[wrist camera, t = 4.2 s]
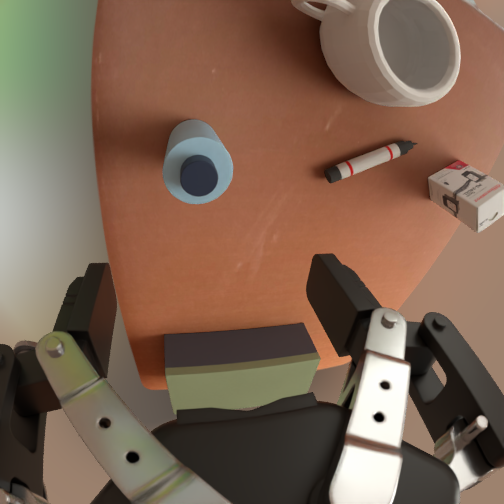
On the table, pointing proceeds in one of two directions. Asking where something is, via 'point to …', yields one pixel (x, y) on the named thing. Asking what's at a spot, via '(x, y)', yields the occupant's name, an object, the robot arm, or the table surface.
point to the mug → (389, 48)
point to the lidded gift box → (238, 366)
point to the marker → (367, 161)
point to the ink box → (468, 195)
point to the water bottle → (196, 163)
